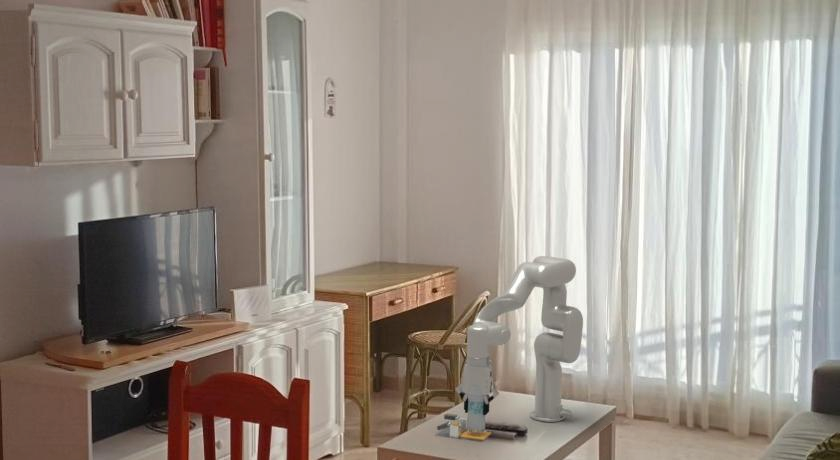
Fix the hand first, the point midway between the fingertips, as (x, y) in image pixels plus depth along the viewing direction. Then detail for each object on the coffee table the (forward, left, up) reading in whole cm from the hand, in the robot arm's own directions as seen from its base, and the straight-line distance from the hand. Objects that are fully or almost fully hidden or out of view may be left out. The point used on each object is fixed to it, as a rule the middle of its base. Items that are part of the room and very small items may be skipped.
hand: (476, 412), depth 352 cm
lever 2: (+10, -4, -5) cm, 12 cm away
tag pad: (0, 0, -8) cm, 8 cm away
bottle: (0, 0, -7) cm, 7 cm away
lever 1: (+10, +4, -5) cm, 12 cm away
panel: (+4, 0, -9) cm, 10 cm away
